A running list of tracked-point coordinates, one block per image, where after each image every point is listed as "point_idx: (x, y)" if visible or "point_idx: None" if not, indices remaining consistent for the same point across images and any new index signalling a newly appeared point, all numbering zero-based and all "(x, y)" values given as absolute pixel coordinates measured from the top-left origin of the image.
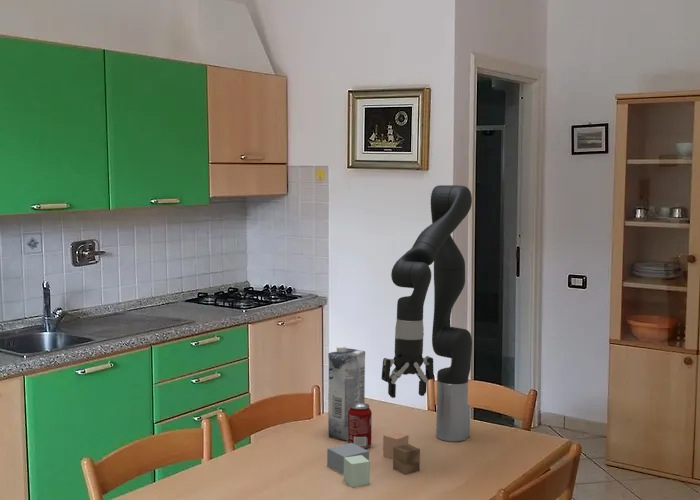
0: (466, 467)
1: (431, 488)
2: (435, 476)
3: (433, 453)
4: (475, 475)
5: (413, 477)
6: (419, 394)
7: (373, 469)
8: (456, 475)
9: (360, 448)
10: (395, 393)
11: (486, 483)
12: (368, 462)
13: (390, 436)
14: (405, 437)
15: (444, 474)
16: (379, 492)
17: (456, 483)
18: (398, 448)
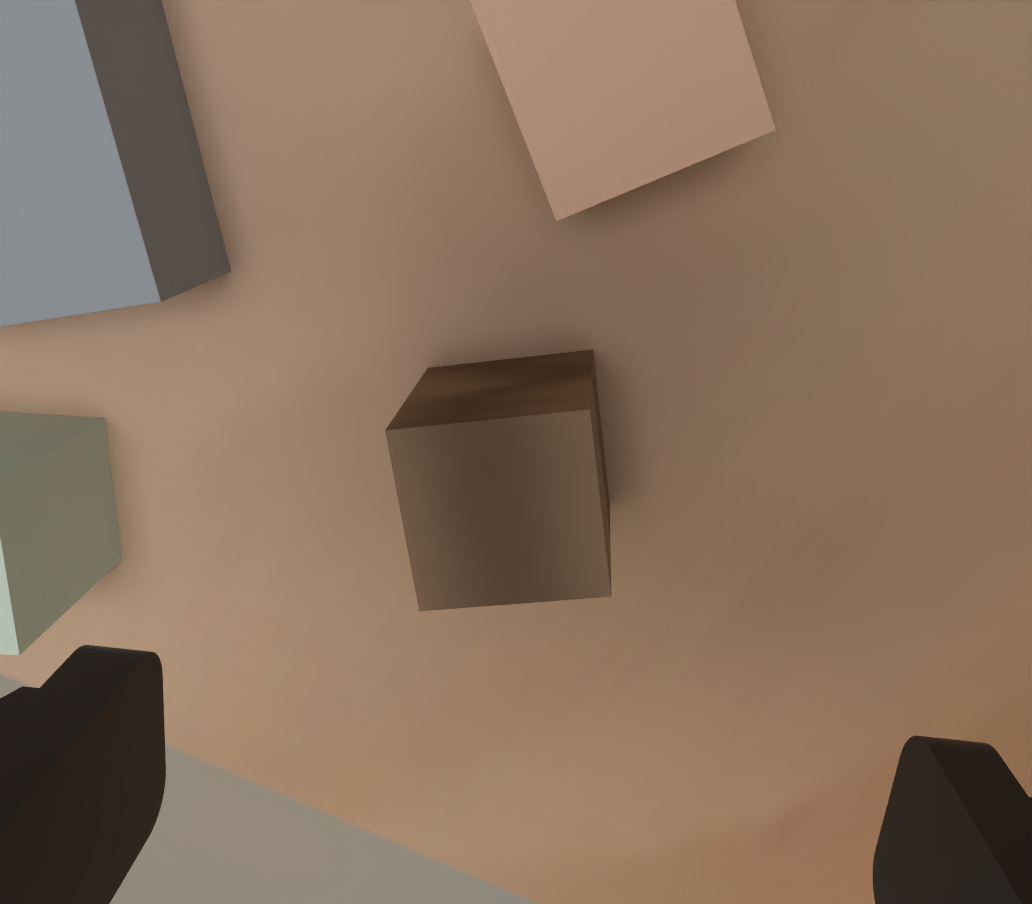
0: (1016, 608)
1: (501, 797)
2: (657, 648)
3: (1015, 177)
4: None
5: None
6: (900, 774)
7: (261, 306)
8: (818, 700)
9: (99, 185)
10: (116, 885)
11: None
12: (11, 648)
13: (531, 78)
14: (709, 157)
15: (747, 646)
16: None
17: (714, 807)
18: (416, 487)
